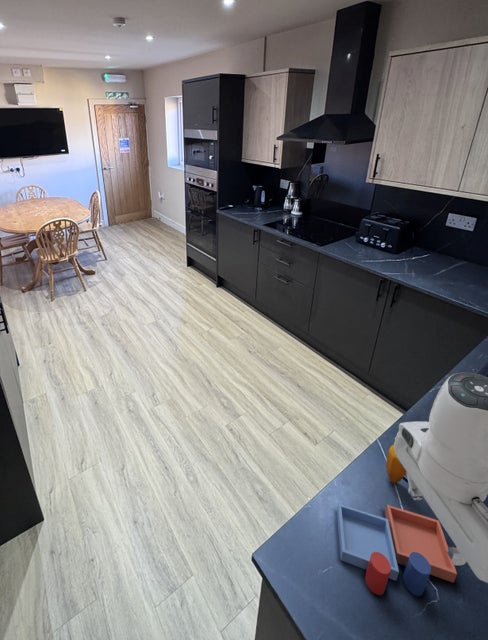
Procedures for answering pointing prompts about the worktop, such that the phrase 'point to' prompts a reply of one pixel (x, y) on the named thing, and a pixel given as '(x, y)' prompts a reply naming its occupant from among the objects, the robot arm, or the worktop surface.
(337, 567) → the worktop surface
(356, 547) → the blue bin
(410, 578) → the blue peg
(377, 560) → the red peg
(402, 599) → the worktop surface
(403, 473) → the carrot
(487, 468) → the robot arm
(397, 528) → the red bin
